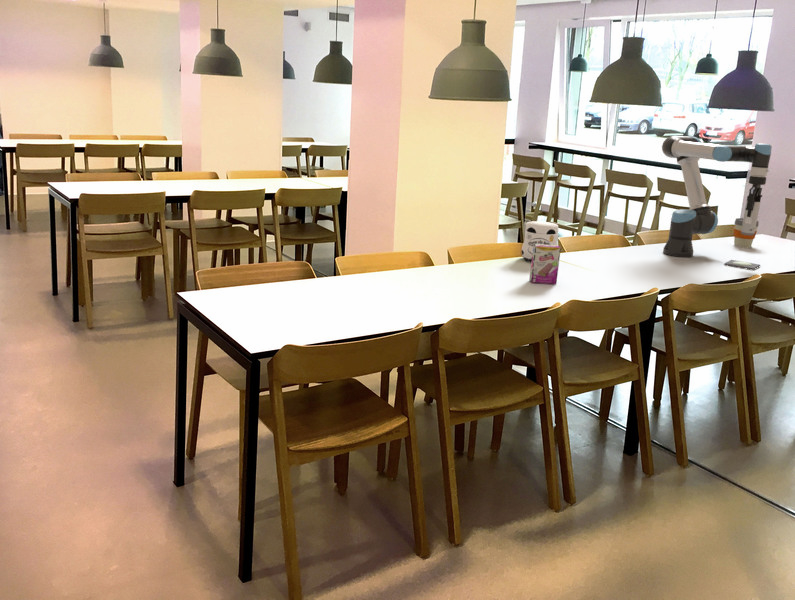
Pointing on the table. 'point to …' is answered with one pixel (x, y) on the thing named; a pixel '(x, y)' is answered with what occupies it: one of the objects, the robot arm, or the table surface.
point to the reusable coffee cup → (740, 238)
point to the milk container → (538, 236)
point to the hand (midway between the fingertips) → (749, 222)
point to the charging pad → (741, 264)
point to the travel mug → (750, 228)
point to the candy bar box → (544, 264)
